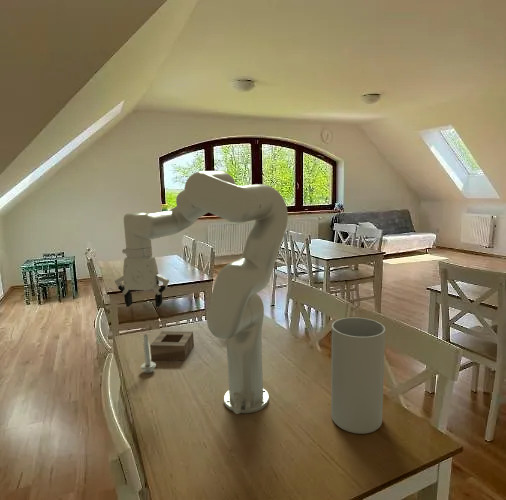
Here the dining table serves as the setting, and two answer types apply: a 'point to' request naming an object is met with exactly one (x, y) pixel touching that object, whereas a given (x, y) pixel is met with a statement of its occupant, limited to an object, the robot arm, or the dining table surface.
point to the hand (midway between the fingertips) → (144, 305)
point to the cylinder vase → (357, 374)
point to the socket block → (172, 345)
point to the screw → (147, 357)
